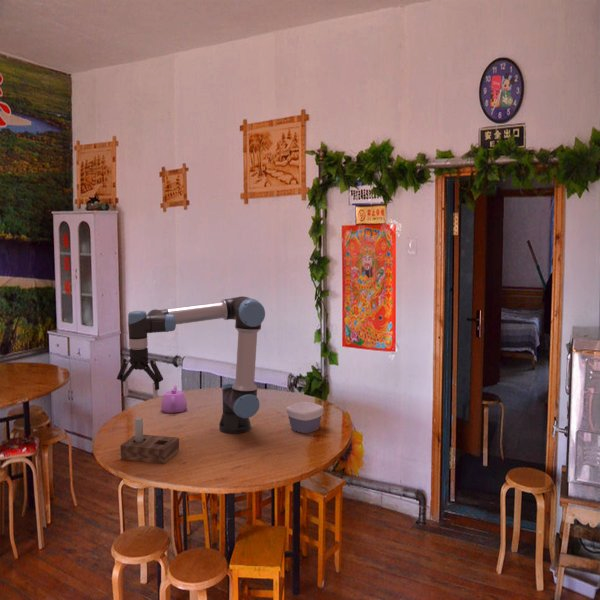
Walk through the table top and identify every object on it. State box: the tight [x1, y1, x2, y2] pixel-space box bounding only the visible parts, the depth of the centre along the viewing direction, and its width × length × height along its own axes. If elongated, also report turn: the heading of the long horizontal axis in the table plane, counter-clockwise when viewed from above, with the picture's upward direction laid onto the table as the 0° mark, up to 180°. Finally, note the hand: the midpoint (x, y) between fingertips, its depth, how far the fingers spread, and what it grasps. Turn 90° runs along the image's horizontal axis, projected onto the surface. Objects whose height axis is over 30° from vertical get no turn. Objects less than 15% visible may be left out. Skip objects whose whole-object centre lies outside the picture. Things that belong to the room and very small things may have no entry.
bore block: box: [119, 434, 180, 465], centre depth 253 cm, size 20×14×6 cm
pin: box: [134, 417, 144, 443], centre depth 254 cm, size 3×3×14 cm
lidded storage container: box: [286, 401, 324, 434], centre depth 286 cm, size 15×15×11 cm
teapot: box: [160, 384, 188, 414], centre depth 315 cm, size 13×20×11 cm, turn 8°
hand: (140, 396), depth 254 cm, fingers open, 13 cm apart
